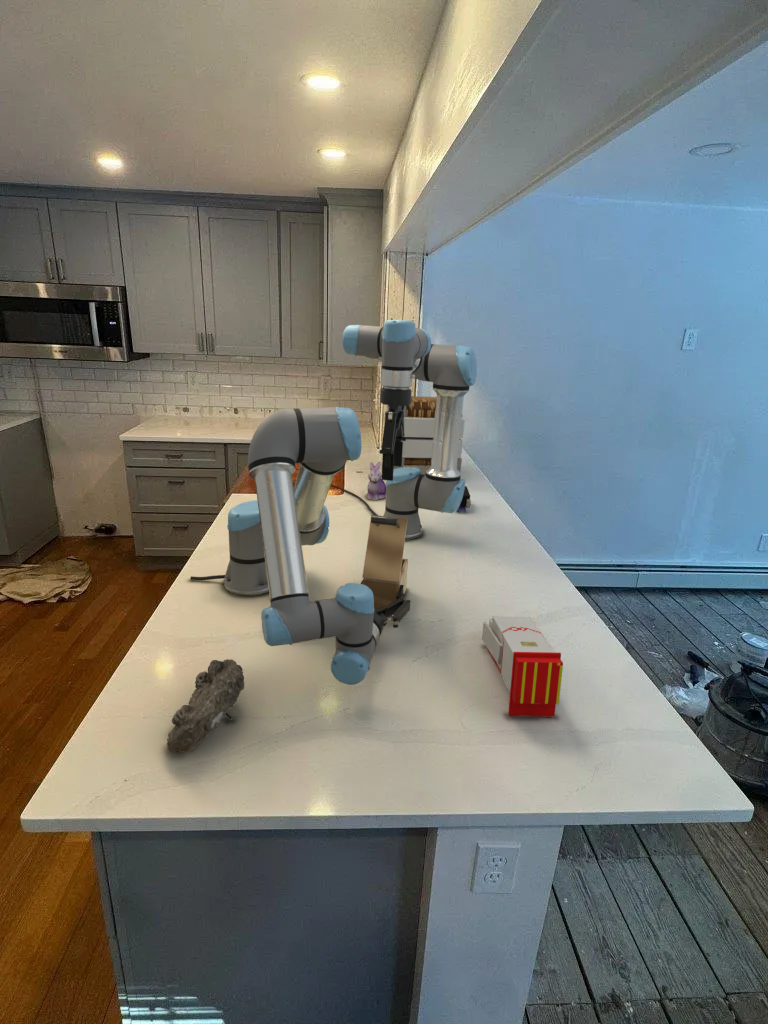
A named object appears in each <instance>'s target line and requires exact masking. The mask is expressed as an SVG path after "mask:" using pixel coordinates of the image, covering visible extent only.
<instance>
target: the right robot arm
mask: <svg viewBox="0 0 768 1024" xmlns="http://www.w3.org/2000/svg"><path fill="white" fill-rule="evenodd" d="M341 339H342V340H341V343H342V347H343V348H342V349H343V351H344V352H345V353H346V354H347V355H352V356H355V357H357V356H360V357H366V358H368V359H371V360H374V361H377V362H378V363H379V362H380V363H381V369H380V386H381V388H380V395H379V397H380V398H379V401H380V404H381V405H385V406H387V405H388V406H389V409H388V411H387V410H386V411H385V412H384V426H383V434H382V442H381V449H379V450H378V451H379V454H380V455H382V459H381V475H382V477H381V479H382V480H383V481H386V482H385V484H386V496H385V504H384V505H385V507H384V508H385V509H384V513H383V515H382V516H386V517H395V518H405V519H408V520H407V528H406V536H405V541H410V540H415V539H418V538H420V537H421V536H422V535H423V525H422V524H421V518H420V515H419V509H420V510H421V509H422V510H427V511H433V512H438V513H442V514H443V513H446V514H454V513H456V512H457V509H458V507H459V505H460V503H461V501H462V498H463V494H464V490H465V486H466V481H465V480H463V479H461V475H462V474H461V473H460V472H459V471H458V470H457V459H458V449H459V439H461V438H460V429H461V418H462V419H463V408H464V398H465V397H464V396H465V395H467V393H469V392H470V387H471V386H474V385H475V384H476V380H477V375H478V374H477V373H478V367H477V366H478V365H477V364H478V363H477V357H476V353H475V351H474V350H473V348H472V347H470V346H464V345H459V344H458V345H455V344H454V345H452V344H438V343H437V344H436V343H435V344H434V343H432V338H431V336H430V334H429V332H428V331H426V329H423V328H420V327H416V323H415V321H413V320H409V319H408V320H407V319H406V320H405V319H387V320H384V323H383V326H378V325H377V326H376V325H363V324H349V325H347V326H346V327H345V328H344V330H343V333H342V338H341ZM413 379H414V380H417V381H420V382H429V383H432V390H433V391H434V393H435V394H436V397H437V399H436V411H435V423H434V435H433V447H432V459H431V465H430V466H429V468H427V469H426V470H425V474H424V473H423V474H422V469H421V468H419V467H416V466H404V467H403V468H397V469H394V466H400V467H401V466H402V452H403V442H401V441H406V437H404V436H405V434H404V406H407V405H410V404H411V396H412V392H413V391H412V389H411V387H412V385H413ZM330 487H332V488H335V489H338V490H340V491H343V492H345V493H347V494H350V495H351V496H354V497H355V498H357V499H358V500H360V501H361V502H362V503H363V504H364V505H365V506H366V507H367V509H368V510H369V511H370V513H372V515H377V516H379V515H378V514H377V513H376V512H375V511H374V510H373V509H372V508H371V507H370V505H369V504H368V503H367V502H366V501H365V500H364V499H363V498H362V497H360V496H359V495H357V494H356V493H354V492H352V491H350V490H347V489H344V488H342V487H340V486H337V485H334V484H331V486H330Z"/></svg>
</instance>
